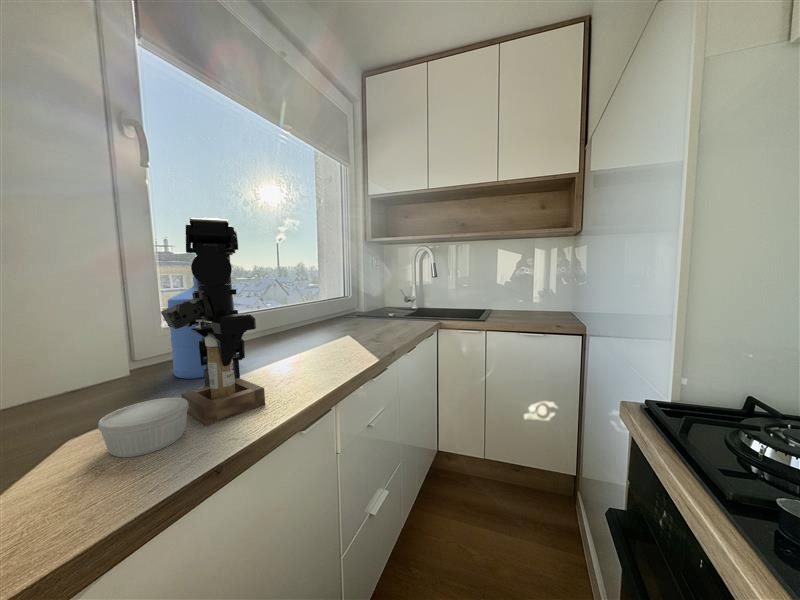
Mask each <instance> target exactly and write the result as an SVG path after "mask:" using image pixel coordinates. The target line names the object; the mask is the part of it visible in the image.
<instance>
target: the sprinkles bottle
mask: <svg viewBox="0 0 800 600" xmlns="http://www.w3.org/2000/svg"><path fill="white" fill-rule="evenodd" d="M205 345H206V346H207V347H206V348H207V356H208V372H209V384H210V389H211V401H212V400H215V399H218V398H221V397H225V396H228V395H231V394H234V393H235V378H234V366H233V358H232V360H231V363H230V365H228V366H223V364H222V361H221V357H220V353H219V349H218V345H217V341H216V340H215V339H214V338H213V337H211V336H210V335H208V336H206V337H205Z"/></svg>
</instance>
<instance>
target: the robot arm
mask: <svg viewBox="0 0 800 600" xmlns="http://www.w3.org/2000/svg"><path fill="white" fill-rule="evenodd" d="M234 227H235V226H233V225H229V220H228V219H223V218H222V219H221V218H220V217H219V218H218V217H201V218H199V217H190V218H189V223H185V252H186V254H195V257H194V258H193V260H192V262H191V265H190V266H191V267H190V269H191V273H192V275H193V277H195V278H196V279H197V288H198V291H194V292H193V293H192V296H193V299H191V300H189V301H184V302H183V303H180V304H176V305H175V306H173V307H171V308H168V307H167V309H166V308H165V309H163V310H161V311H160V313H161V316H162V317H163V319H164V321H165V322H166V324H167V326H168V327H169V329H170V328H171V327H173V328H174V329H178V328H181V327H184V326H187V327H191V326H192V325H194V324H195V326H196V328H193V329H191V330H192V331H194V332H196V333H197V334H199V335H200V336H202V339H199V351H200V359H201V366H203V365H206V369H205V370H204V378H203V379H204V385H203V386H204V387H207V386H210V384H209V372H208V356H207V348H206V347H207V346H206V345H205V337H206V336H208V335H210V336H211V337H213V338H214V339H215V340H216V341H217V345H218V349H219V353H220V357H221V361H222V364H223V366H228V365H230V363H231V360H232V358H233V366H234V378H235V379H237V378H240V379H241V375H240V374H241V373H240V372H241V371H240V363H239V362H240V361H242V360H244V359H245V358H246V353H245V340H244V339H243V336H244V334H245V333H247V332H248V331H252V330H256V329H257V322H256V318H255V317H254V316H253V315H252V314H248V313H239V310H238V309H234V310H233V302H234V296H235V295H237V289H236V288H233V286H232V272H233V271H232V269H233V267H232V263H231V256H233V254H236V250H237V251H238V250H239V240H238V233H237V231H236V230H235V228H234ZM233 295H234V296H233ZM232 296H233V297H232ZM236 353H237V354H236ZM205 357H206V358H205Z"/></svg>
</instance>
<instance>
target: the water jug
mask: <svg viewBox="0 0 800 600" xmlns="http://www.w3.org/2000/svg"><path fill="white" fill-rule="evenodd" d="M192 278H193V286H192V287H190V288H188V289H187V290H184V291H183V292H180V293H178V294H176V295H173V296H172V297H169V299H167V309H168V308H171V307H173V306H175V305H176V304H180V303H183V302H184V301H189V300H191V299H193V296H192V293H193V292H194V291H198V288H197V279H196V278H195V277H194V276H193V277H192ZM232 297H233V298H234V296H233V295H232ZM233 310H235V302H234V301H233ZM193 328H196V326H195V324H194V325H192V326H191V327H187V326H184V327H181V328H178V329H174V328H173V327H171V328H170V327H169V329H170V341H171V342H170V343H171V351H172V361H173V362H172V363H173V364H172V365H173V367H172V370H173V375H174V376H175V377H177V378H179V379H187V380H189V379H204V370H205V369H206V365H203V366H201V359H200V351H199V339H202V336H200V335H199V334H197V333H196V332H194V331H192V330H191V329H193ZM236 354H238V353H236ZM205 358H206V357H205Z"/></svg>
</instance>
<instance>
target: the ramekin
mask: <svg viewBox="0 0 800 600" xmlns="http://www.w3.org/2000/svg"><path fill="white" fill-rule="evenodd" d="M188 408H189V404H188V401H187V400H186V399H183V398H182V397H173V396H172V397H163V398H155V399H150V400H146V401H142V402H138V403H134V404H131V405H128V406H127V405H126V406H125V407H122V408H119V409H116V410H114V411H112V412H110V413H108V414H106V415H104V416H103V417H101V419H100V420H99V421H98V423H97V426H98V430H99V432H101V435H102V438H103V440H104V443H105V447H106V450H107V451H108V453H110V454H111V455H112V456H115V457H118V458H133V457H139V456H143V455H148V454H150V453H153V452H157V451H160V450H162V449H165V448H166V447H169V446H170V445H172V444H173V443H174V444H175V442H177V441H178V440H179V439H180V438H181V437H182V435H183V434H184V433H185V430H186V428H187V417H188V414H187V410H188Z"/></svg>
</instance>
